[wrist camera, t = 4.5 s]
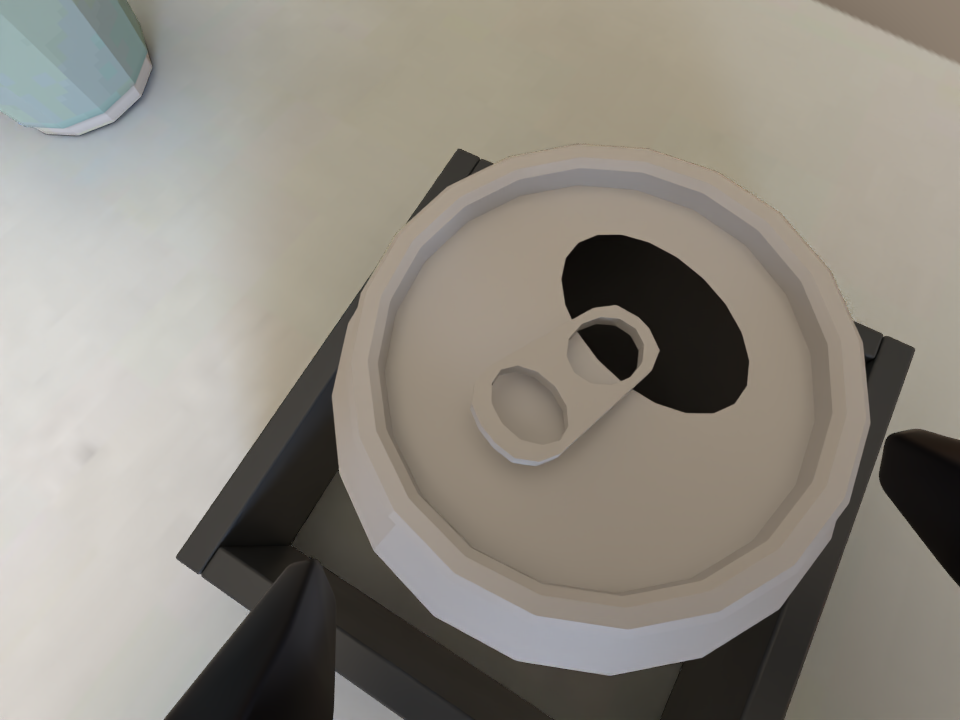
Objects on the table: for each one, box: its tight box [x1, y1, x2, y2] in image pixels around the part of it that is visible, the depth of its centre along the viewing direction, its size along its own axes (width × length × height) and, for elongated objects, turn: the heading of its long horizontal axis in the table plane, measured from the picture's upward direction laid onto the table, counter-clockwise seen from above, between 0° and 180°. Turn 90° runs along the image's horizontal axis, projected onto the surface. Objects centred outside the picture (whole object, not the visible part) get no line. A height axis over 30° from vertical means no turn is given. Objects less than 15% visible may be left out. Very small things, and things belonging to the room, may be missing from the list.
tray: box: [176, 149, 915, 720], centre depth 16 cm, size 14×14×4 cm
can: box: [332, 144, 871, 676], centre depth 12 cm, size 8×8×12 cm
